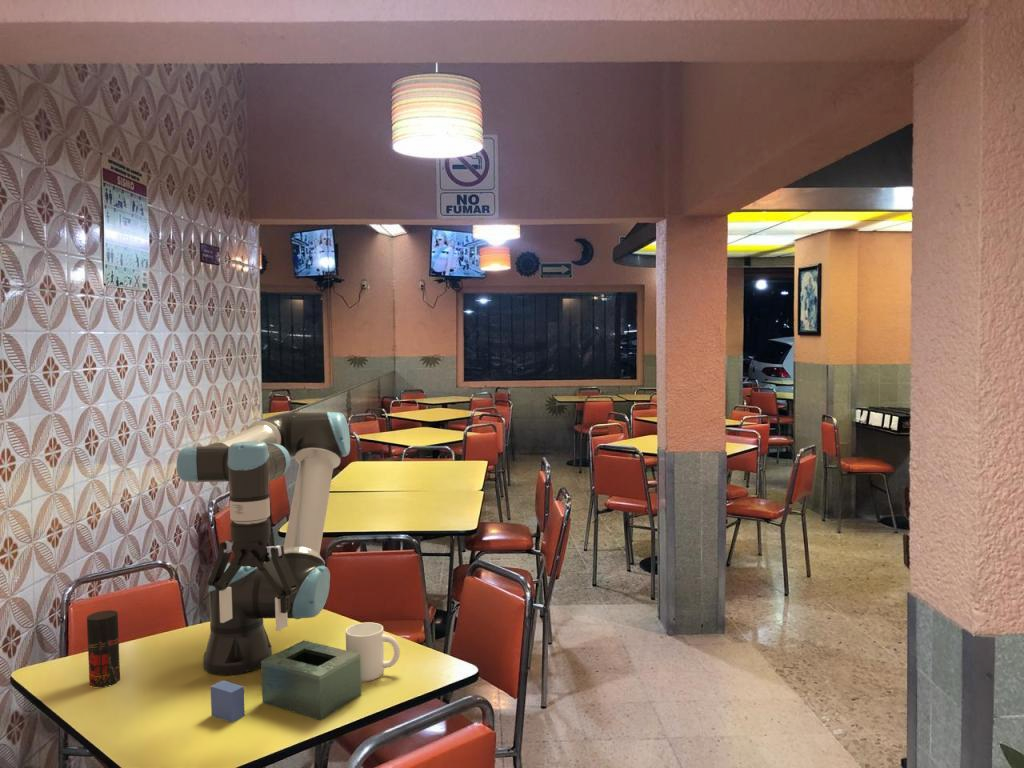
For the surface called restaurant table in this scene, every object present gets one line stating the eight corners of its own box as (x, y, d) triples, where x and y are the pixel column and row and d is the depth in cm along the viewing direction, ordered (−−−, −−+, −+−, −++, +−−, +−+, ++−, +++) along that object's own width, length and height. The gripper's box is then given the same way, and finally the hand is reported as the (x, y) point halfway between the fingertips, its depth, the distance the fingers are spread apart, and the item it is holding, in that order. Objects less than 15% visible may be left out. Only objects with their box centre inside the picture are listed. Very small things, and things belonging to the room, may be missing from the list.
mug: (404, 666, 168) (403, 622, 168) (396, 683, 160) (394, 636, 159) (352, 666, 169) (351, 622, 168) (341, 682, 161) (340, 636, 160)
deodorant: (85, 682, 162) (82, 615, 162) (114, 673, 167) (112, 608, 166) (94, 690, 158) (92, 622, 158) (124, 681, 163) (121, 614, 162)
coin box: (262, 702, 152) (261, 660, 151) (304, 679, 162) (303, 640, 162) (320, 720, 144) (319, 676, 144) (361, 694, 155) (360, 653, 154)
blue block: (211, 715, 147) (210, 686, 146) (223, 709, 149) (222, 680, 149) (232, 722, 144) (231, 692, 143) (244, 715, 146) (243, 686, 146)
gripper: (186, 519, 147) (190, 623, 148) (290, 528, 139) (294, 638, 140) (213, 511, 154) (217, 611, 155) (314, 519, 146) (317, 624, 147)
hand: (253, 624), depth 147 cm, fingers open, 13 cm apart
